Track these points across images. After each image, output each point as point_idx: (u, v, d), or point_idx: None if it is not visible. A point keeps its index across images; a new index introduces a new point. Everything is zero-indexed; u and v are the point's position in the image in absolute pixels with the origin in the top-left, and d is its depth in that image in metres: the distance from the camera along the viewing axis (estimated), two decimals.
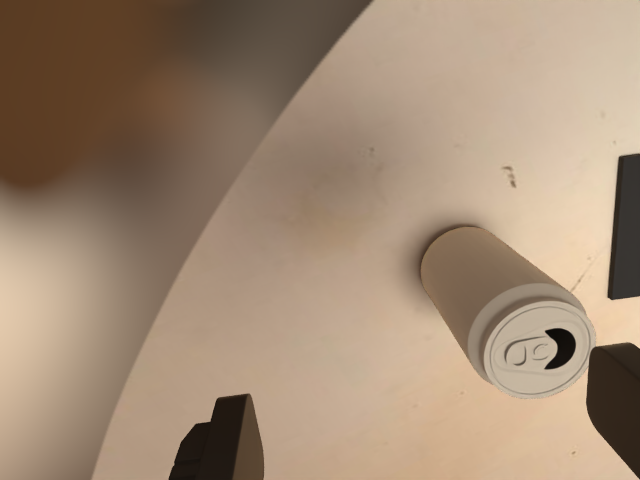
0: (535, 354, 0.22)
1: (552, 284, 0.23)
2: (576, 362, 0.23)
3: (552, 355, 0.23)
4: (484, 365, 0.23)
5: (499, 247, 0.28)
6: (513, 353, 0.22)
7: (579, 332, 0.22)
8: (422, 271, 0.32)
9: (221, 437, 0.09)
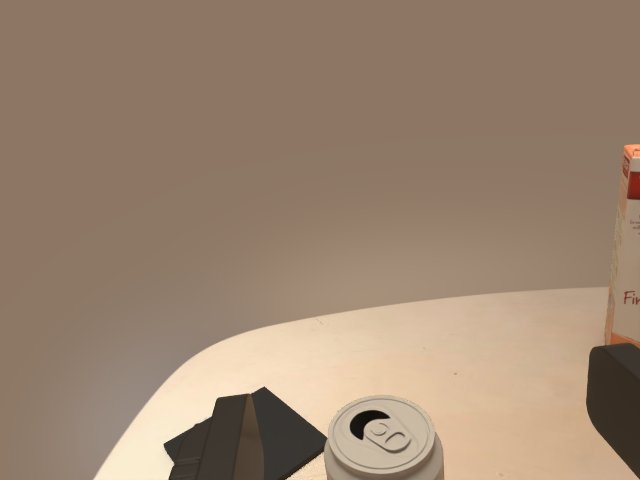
0: (385, 431, 0.24)
1: (326, 468, 0.24)
2: (367, 405, 0.26)
3: (375, 421, 0.25)
4: (426, 455, 0.22)
5: None
6: (397, 444, 0.23)
7: (344, 420, 0.25)
8: None
9: (221, 437, 0.09)
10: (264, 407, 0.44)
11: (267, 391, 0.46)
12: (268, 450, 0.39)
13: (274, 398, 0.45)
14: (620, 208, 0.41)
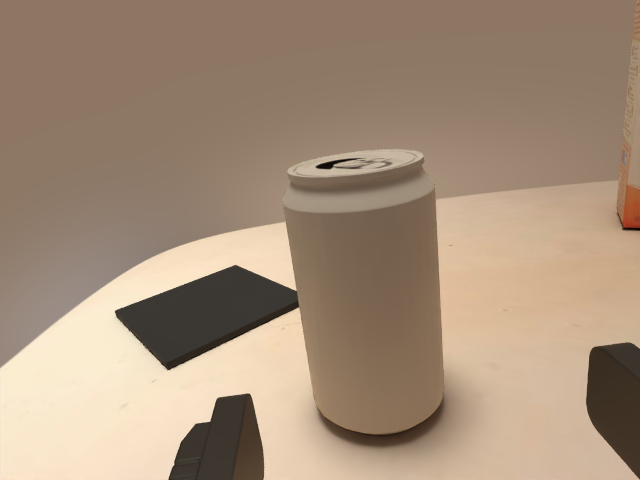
0: (360, 162, 0.19)
1: (285, 207, 0.18)
2: (340, 157, 0.21)
3: (348, 161, 0.19)
4: (412, 164, 0.17)
5: (306, 327, 0.20)
6: (375, 166, 0.18)
7: (310, 165, 0.20)
8: (423, 411, 0.19)
9: (221, 437, 0.09)
10: (233, 278, 0.39)
11: (238, 267, 0.41)
12: (234, 307, 0.33)
13: (245, 271, 0.40)
14: (635, 39, 0.36)
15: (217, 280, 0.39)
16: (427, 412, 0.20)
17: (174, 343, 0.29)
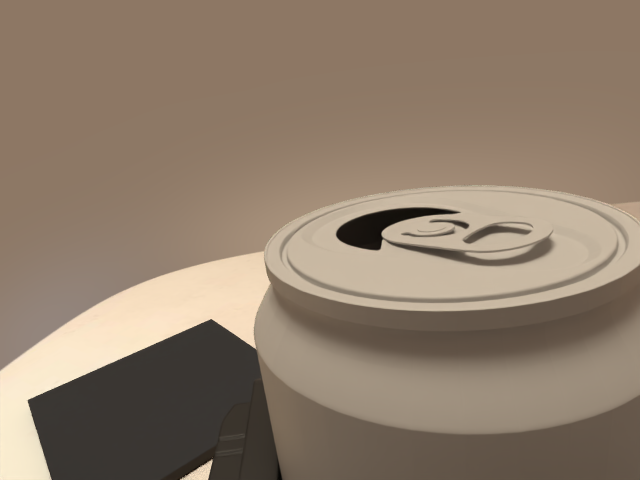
0: (452, 228, 0.07)
1: (257, 348, 0.07)
2: (388, 203, 0.09)
3: (416, 220, 0.08)
4: None
5: None
6: None
7: (323, 227, 0.08)
8: None
9: (263, 414, 0.09)
10: (205, 344, 0.27)
11: (214, 324, 0.30)
12: (200, 404, 0.22)
13: (223, 332, 0.28)
14: None
15: (182, 347, 0.27)
16: None
17: None
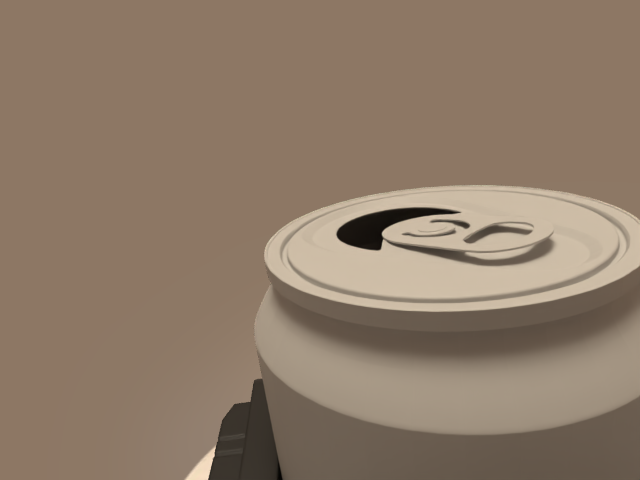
0: (452, 229, 0.07)
1: (257, 349, 0.07)
2: (388, 203, 0.09)
3: (415, 220, 0.08)
4: None
5: None
6: None
7: (323, 227, 0.08)
8: None
9: (263, 414, 0.09)
10: None
11: None
12: None
13: None
14: None
15: None
16: None
17: None
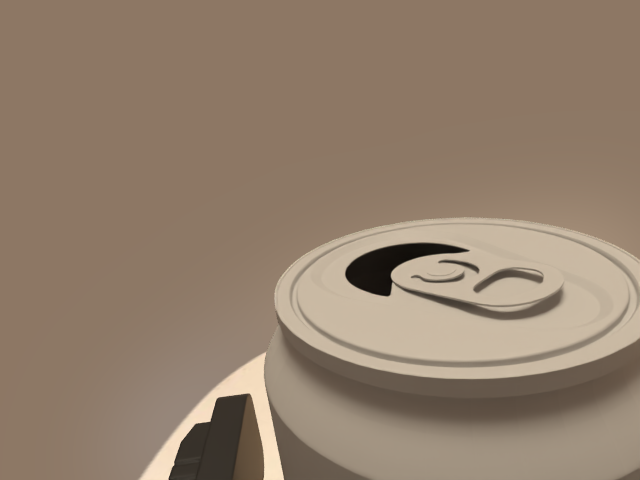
0: (461, 272, 0.07)
1: (268, 393, 0.07)
2: (396, 237, 0.09)
3: (424, 258, 0.08)
4: None
5: None
6: None
7: (331, 265, 0.08)
8: None
9: (221, 437, 0.09)
10: None
11: None
12: None
13: None
14: None
15: None
16: None
17: None
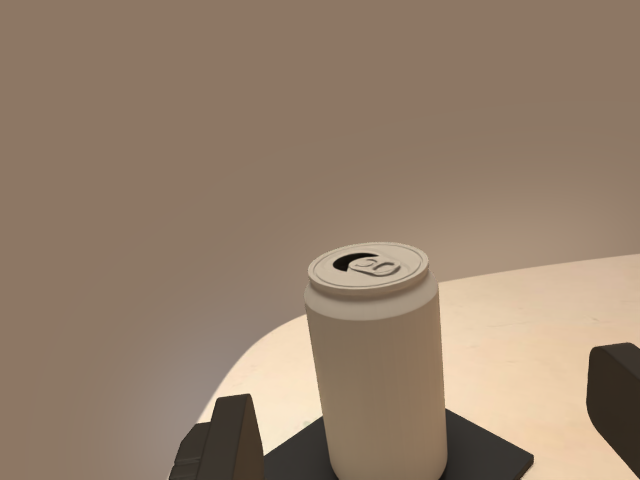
0: (372, 263, 0.21)
1: (306, 304, 0.21)
2: (354, 250, 0.23)
3: (361, 259, 0.22)
4: (419, 274, 0.19)
5: (324, 405, 0.22)
6: None
7: (327, 261, 0.22)
8: None
9: (221, 437, 0.09)
10: None
11: None
12: None
13: None
14: None
15: None
16: None
17: None
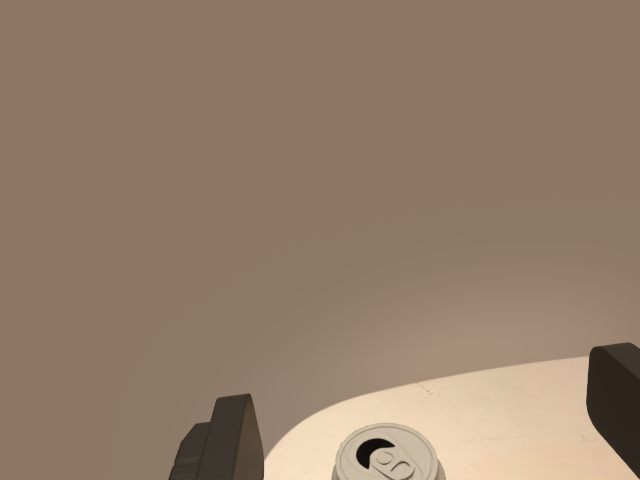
0: (390, 460, 0.25)
1: None
2: (373, 433, 0.27)
3: (380, 450, 0.26)
4: None
5: None
6: (402, 473, 0.24)
7: (351, 449, 0.26)
8: None
9: (221, 437, 0.09)
10: None
11: None
12: None
13: None
14: None
15: None
16: None
17: None
